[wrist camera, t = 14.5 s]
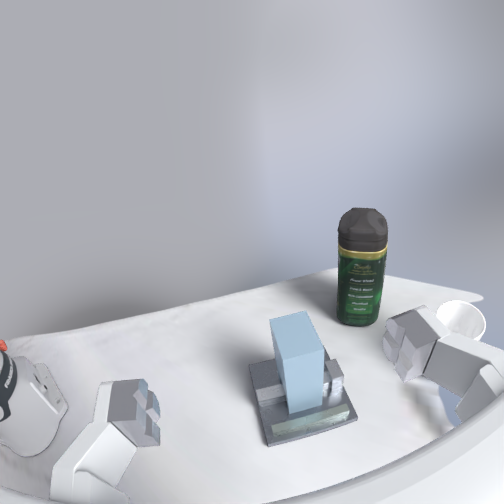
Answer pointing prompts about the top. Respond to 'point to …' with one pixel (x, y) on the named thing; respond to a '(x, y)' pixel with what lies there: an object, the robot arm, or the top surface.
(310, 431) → the rail plate
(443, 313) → the white cup
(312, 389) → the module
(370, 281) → the coffee jar
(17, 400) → the robot arm
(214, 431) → the top surface
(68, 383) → the top surface
